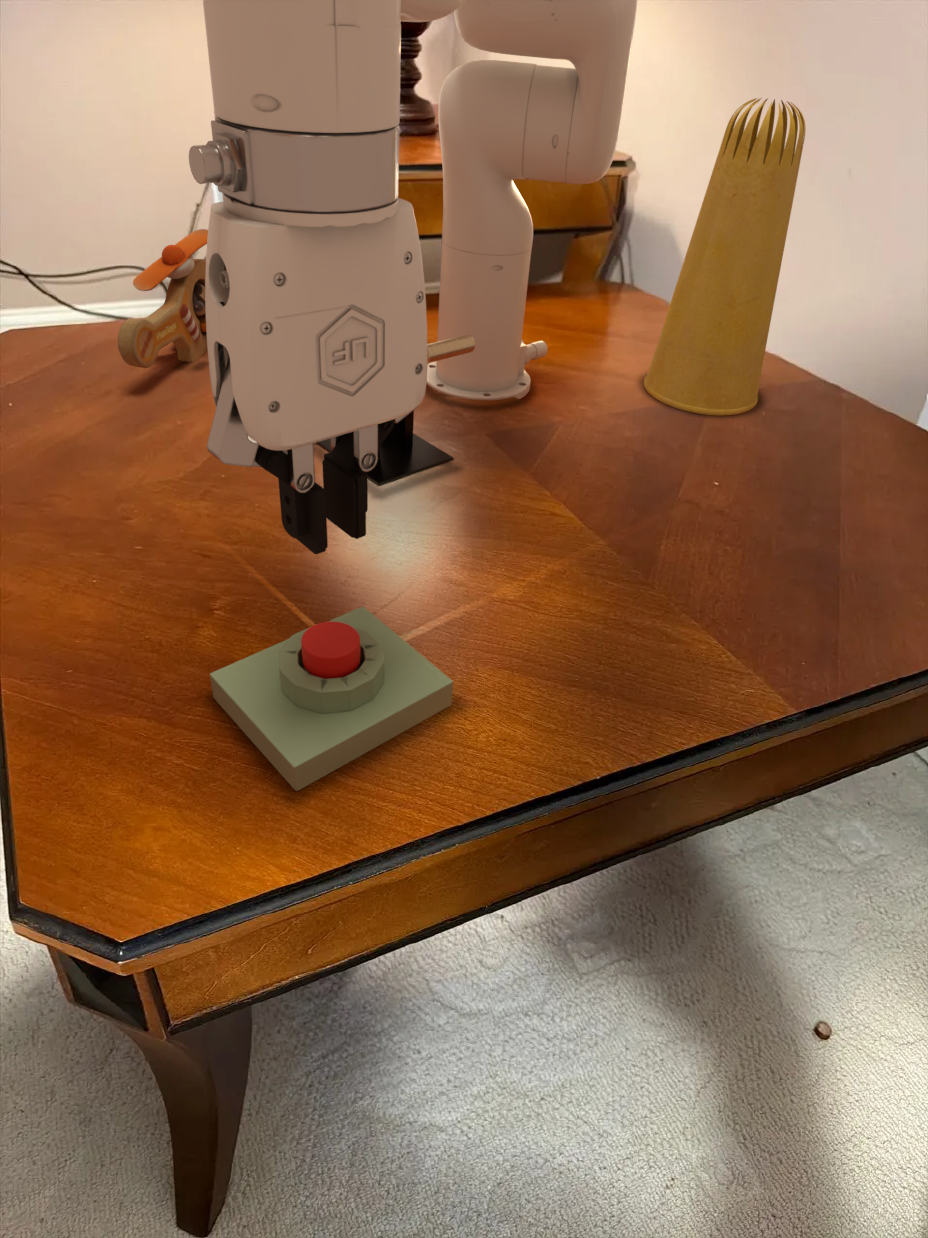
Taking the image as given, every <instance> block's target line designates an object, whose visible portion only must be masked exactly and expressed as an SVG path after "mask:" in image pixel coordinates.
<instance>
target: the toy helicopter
mask: <svg viewBox="0 0 928 1238" xmlns="http://www.w3.org/2000/svg"><path fill="white" fill-rule="evenodd" d="M207 238H208V229H206V228H199V229H196V230H193V231H192V232H190V233H189V234H188V235H186V236H185V237H183V238H182V239H181V240H179V241H178V242H176V243H175V244H168V245H166V246H164V248H163V249H162V251H161V257H159V258H158V259H157V260H155V261H154V262H152V263H151V264H150V265H149V266H147V267H146V268H145V269H144V270H143V271H141V272H140V273H139V274H138V275H136V276H135V277H134V279H133V280H132V285H133V287H134V288H135V289H136V290H138V291H141V292H148V291H152V290H154V289H155V288H156V287H157V286H158V285H160V283H162V282H163V281H164V280H165V279H167V278H168V279H170V281H169V284H168V287H167V290H166V292H165V293H166V294H165V298H164V302H163V304H162V305H161V306H160V307H158V308H157V309H156V310H155V311H153V312H151V314H149V315H148V316H147V317H145V318H135V317H134V318H132V317H131V318H127V319H126V320H124V321H123V322H122V323H121V325H120V327H119V330H118V334H117V347H118V352H119V354H120V356H121V358H122V360H123V361H124V362H125V364H127V365H128V366H130V367H136V368H143V369H148V368H151V367H152V366H153V365H154V364H155V362H156V360H157V358H158V356H159V353H160V351H161V350H162V349H163V348H165V347H167V346H168V345H170V344H173V345H174V347H175V349H176V352H177V353H176V354H177V360H178V361H180V362H187V363H195V362H196V361H197V360H199V359H200V358H201V357H203V356H204V354H206V353H208V347H207V332H206V306H205V277H206V258H194V257H193V255H194V254H195V253H196V252H198V251H199V250H201V248H203V247H204V246H207Z"/></svg>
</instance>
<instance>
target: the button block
mask: <svg viewBox="0 0 928 1238" xmlns="http://www.w3.org/2000/svg"><path fill="white" fill-rule="evenodd" d="M327 622H341V623H345V624H348V625H350V626H351V627H353V628H354V629H355V630H356V631H357V632H358V634H359V636H360V664H359V666H358V668H357V669H356V670H355V671H354V672H353V673H351V674H349V675H347V676H345V677H342V678H331V679H323V678H320V677H316V676H313V675H312V674H310V673H309V672H308V671H307V670H306V669H305V667H304V665H303V659H302V645H301V639H302V636H303V634H304V633H305V631H306V630H308V629H309V628H310V627H311V626H310V627H307V628H305V629H302V630H301V631H298V632H295V633H294V634H292V635H291V636H290V637H289V638H287V639H285V640H283V641H280V642H278V643H275V644H274V645H271V646H269V647H267V648H265V649H262V650H260V651H258V652H256V653H255V652H254V653H253V654H250V655H248V656H246V657H244V658H242V659H240V660H237V661H235V662H233V663H231V664H228V665H226V666H224V667H221V668H219V669H217V670H214V671H212V672H210V673H209V678H210V685H211V690H212V698H213V699H214V700H215V701H216V703H217V704H218V705H219V706H220V707H221V708H222V709H223V710H224V712H225V713H226V714H227V715H228V716H229V717H230V719H231V720H232V721H233V722H234V723H235V724H236V726H238V728H239V729H240V730H241V731H242V732H243V734H245V736H246V737H247V738H248V739H249V740H250V741H251V743H253V745H254V746H255V747H256V748H257V749H258V750H259V752H260V753H261V754H263V756H264V757H265V758H266V759H267V760H268V761H269V763H270V764H271V765H272V766H273V767H274V768H275V770H276V771H277V772H278V773H279V774H280V775H281V776H282V778H284V780H285V781H286V782H287V783H288V785H290V786H291V788H292V789H293V790H294V791H295V792H298V791H301V790H302V789H304V788H306V787H307V786H309V785H311V784H313V783H315V782H316V781H318V780H321V779H322V778H324V777H326V776H327V775H329V774H331V773H332V772H334V771H336V770H337V769H340V768H342V767H344V766H345V765H346V764H347V765H348V764H349V763H350V762H353V761H354V760H356V759H358V758H359V757H361V756H364V755H365V754H366V753H368V752H370V751H372V750H374V749H375V748H378V747H379V746H381V745H383V744H384V743H386V742H388V741H390V740H391V739H394V738H396V737H397V736H399V735H401V734H402V733H404V732H406V731H408V730H409V729H412V728H413V727H415V726H416V725H418V724H420V723H422V722H424V721H425V720H427V719H429V718H431V717H433V716H434V715H437V714H438V713H440V712H442V711H443V710H445V709H447V708H448V707H451V706H452V703H453V692H454V691H453V688H454V681H453V680H452V679H451V678H450V677H449V676H448V675H446V674H445V673H444V672H443V671H441V670H440V669H439V668H438V667H437V666H435V664H433V663H432V662H431V661H429V660H428V659H427V658H426V657H425V656H424V655H423V654H421V653H420V652H419V651H417V649H415V648H414V647H413V646H412V645H411V644H409V643H408V642H407V641H405V640H404V639H403V638H402V637H401V636H400V635H398V634H397V633H396V632H394V630H392V629H391V628H390V627H389V626H388V625H386V624H385V623H384V622H383V621H382V620H381V619H379V618H378V617H377V616H375V615H374V614H373V613H372V612H370V610H368V609H367V608H366V607H365V606H363V605H361V606H359V607H357V608H355V609H352V610H350V611H349V612H346V613H344V614H342V615H340V616H337V617H334V618H333V619H330V620H327Z"/></svg>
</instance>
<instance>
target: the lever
mask: <svg viewBox="0 0 928 1238" xmlns="http://www.w3.org/2000/svg"><path fill="white" fill-rule="evenodd" d="M474 348H475V341H474V339H473V337H472V336H471V335H463V336H459V337H455V338H451V339H447V340H443V341H439V342H437V341H435V342H431V343H427V364H429V363H431V362H435V361H439V360H443V359H447V358H451V357H454V356H458V355H462V354H466V353H470V352H472V351H473V350H474Z"/></svg>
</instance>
